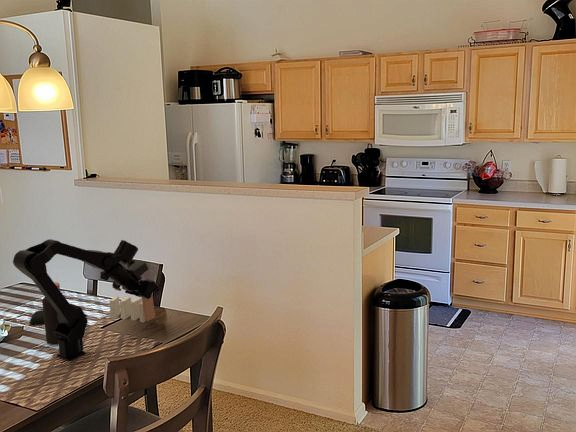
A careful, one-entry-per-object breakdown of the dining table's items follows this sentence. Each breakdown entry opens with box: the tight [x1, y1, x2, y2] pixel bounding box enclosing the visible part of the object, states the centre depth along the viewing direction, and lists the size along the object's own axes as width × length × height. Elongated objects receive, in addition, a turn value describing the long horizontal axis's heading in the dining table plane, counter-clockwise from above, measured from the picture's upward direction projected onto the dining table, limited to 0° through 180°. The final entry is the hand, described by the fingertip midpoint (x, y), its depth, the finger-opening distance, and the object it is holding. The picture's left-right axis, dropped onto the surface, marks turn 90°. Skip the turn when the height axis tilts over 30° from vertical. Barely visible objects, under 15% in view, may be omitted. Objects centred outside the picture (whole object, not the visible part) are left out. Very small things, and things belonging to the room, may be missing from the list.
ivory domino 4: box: [139, 302, 146, 323], centre depth 209 cm, size 2×5×7 cm, turn 150°
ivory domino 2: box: [119, 296, 132, 320], centre depth 212 cm, size 2×5×7 cm, turn 165°
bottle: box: [41, 281, 61, 345], centre depth 190 cm, size 7×7×20 cm
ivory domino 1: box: [109, 295, 121, 320], centre depth 213 cm, size 2×5×7 cm, turn 173°
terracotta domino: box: [141, 294, 156, 322], centre depth 204 cm, size 2×4×10 cm, turn 142°
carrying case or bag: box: [29, 309, 45, 326], centre depth 211 cm, size 11×3×15 cm
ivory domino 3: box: [130, 297, 142, 321], centre depth 211 cm, size 2×5×7 cm, turn 158°
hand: (148, 296), depth 204 cm, fingers closed on terracotta domino, 2 cm apart
